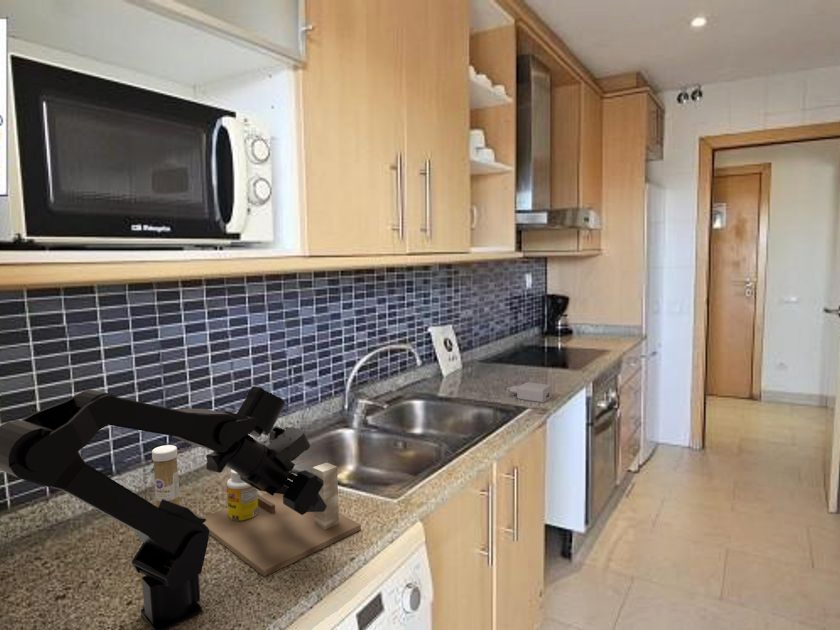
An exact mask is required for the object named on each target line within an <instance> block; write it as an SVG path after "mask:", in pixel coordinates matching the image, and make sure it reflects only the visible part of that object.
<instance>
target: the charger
mask: <svg viewBox="0 0 840 630" xmlns="http://www.w3.org/2000/svg"><path fill="white" fill-rule="evenodd" d="M505 390H508V391H509V393H511V394H516V397H517V399H518V400H522V401H529V402H535V403H542V404H544V403H546V401H548V400H549V399H551V398H552V397H553V385H552V384H545V383H544V384H543V383H538V382H525V383H523V384H521V385H513V386H510V387H509V386H508V387H507V388H506V389H505Z"/></svg>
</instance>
